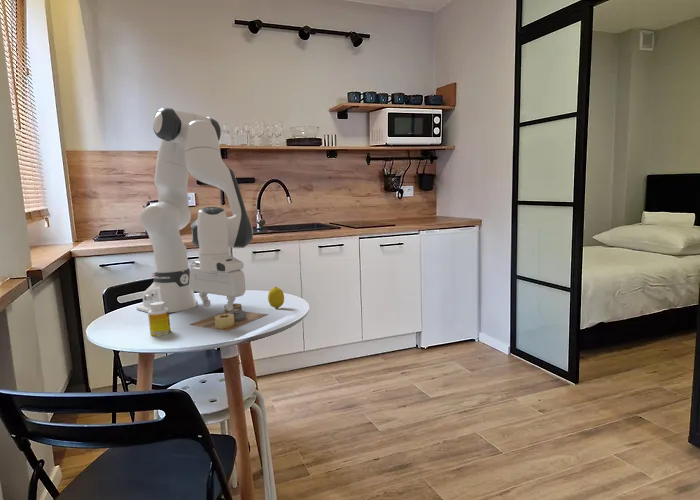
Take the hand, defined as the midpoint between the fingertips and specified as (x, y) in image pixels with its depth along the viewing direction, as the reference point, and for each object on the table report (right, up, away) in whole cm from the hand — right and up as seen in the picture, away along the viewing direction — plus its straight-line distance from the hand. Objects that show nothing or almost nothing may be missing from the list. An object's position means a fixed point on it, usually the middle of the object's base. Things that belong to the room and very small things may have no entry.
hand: (217, 308), depth 136 cm
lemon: (+14, -3, +23) cm, 27 cm away
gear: (+2, -6, +1) cm, 6 cm away
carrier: (+1, -6, +9) cm, 10 cm away
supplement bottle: (-16, -8, -2) cm, 18 cm away
